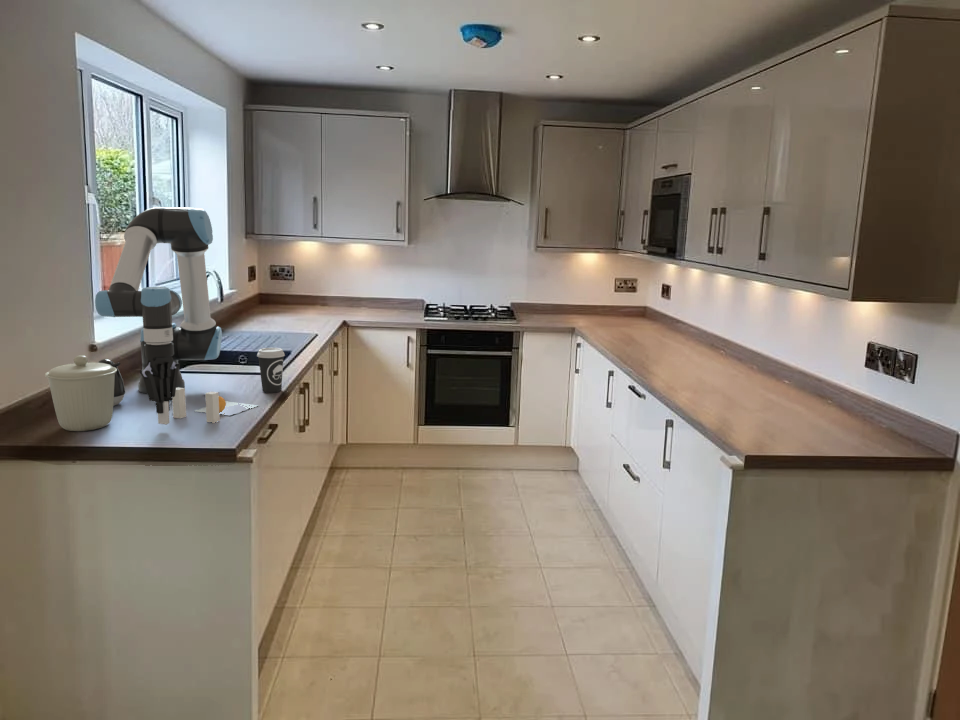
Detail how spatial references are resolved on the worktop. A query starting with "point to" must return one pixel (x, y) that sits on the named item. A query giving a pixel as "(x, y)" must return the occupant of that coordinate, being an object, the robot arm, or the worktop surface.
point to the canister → (82, 394)
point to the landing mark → (228, 406)
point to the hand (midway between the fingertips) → (164, 423)
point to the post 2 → (212, 407)
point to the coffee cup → (271, 369)
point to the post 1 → (179, 403)
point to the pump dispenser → (116, 382)
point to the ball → (221, 404)
